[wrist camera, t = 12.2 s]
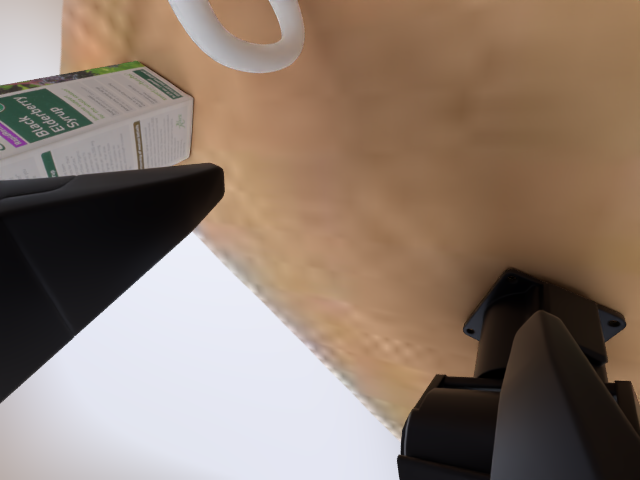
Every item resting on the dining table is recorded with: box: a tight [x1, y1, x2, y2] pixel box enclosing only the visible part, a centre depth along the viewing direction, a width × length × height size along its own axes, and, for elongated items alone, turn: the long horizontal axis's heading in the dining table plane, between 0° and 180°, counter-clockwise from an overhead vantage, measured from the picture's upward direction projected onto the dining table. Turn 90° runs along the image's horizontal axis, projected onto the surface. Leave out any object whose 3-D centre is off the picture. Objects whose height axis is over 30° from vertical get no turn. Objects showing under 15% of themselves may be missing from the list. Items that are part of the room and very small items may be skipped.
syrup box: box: [0, 61, 193, 180], centre depth 22 cm, size 6×6×14 cm
